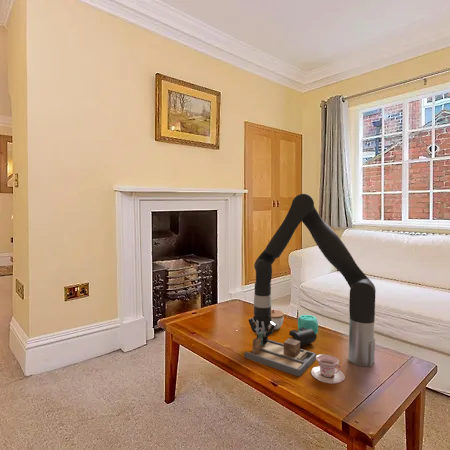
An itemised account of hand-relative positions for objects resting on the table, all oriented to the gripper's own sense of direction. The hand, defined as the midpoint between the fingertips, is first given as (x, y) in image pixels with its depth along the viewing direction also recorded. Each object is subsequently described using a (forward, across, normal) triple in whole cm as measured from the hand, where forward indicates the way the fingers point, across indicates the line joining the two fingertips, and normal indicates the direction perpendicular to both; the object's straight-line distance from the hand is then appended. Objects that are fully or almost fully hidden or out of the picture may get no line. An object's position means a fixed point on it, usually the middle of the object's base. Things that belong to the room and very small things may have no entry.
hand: (262, 343), depth 139 cm
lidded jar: (+3, +8, -24) cm, 26 cm away
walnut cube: (+1, -14, 0) cm, 14 cm away
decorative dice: (+3, -9, -28) cm, 30 cm away
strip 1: (+3, -9, 0) cm, 9 cm away
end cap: (+3, -12, -14) cm, 19 cm away
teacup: (+3, -30, +4) cm, 31 cm away
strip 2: (+3, -11, +8) cm, 14 cm away
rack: (+3, -10, +3) cm, 11 cm away
